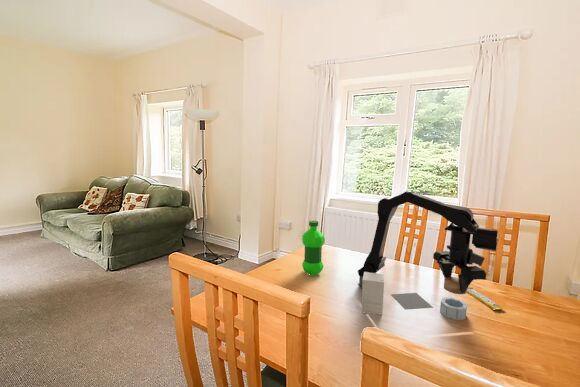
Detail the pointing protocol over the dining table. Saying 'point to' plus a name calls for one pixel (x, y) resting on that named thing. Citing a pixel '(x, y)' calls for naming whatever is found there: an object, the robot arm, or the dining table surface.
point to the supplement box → (372, 293)
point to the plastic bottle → (313, 249)
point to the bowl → (453, 308)
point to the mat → (411, 301)
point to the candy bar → (483, 299)
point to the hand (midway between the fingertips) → (455, 287)
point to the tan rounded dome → (452, 285)
